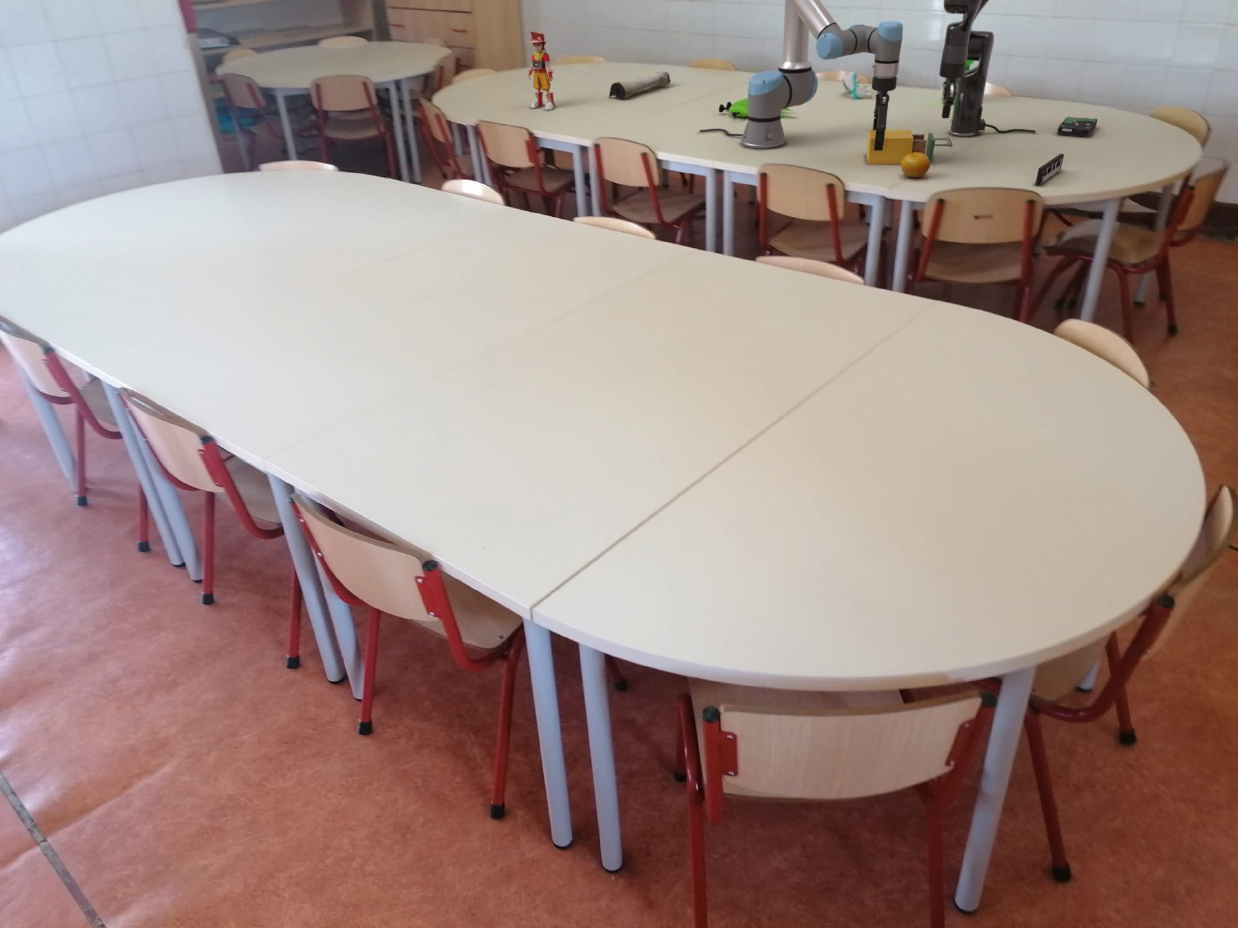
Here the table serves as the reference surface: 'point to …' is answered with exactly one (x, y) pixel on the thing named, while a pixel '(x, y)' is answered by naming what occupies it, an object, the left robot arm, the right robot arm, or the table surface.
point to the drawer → (920, 144)
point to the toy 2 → (741, 108)
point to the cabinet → (890, 147)
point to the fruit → (915, 164)
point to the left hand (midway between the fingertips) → (876, 144)
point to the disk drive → (1077, 126)
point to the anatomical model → (855, 86)
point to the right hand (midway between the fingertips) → (945, 117)
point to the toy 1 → (541, 71)
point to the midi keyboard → (1049, 169)
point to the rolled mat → (638, 84)
